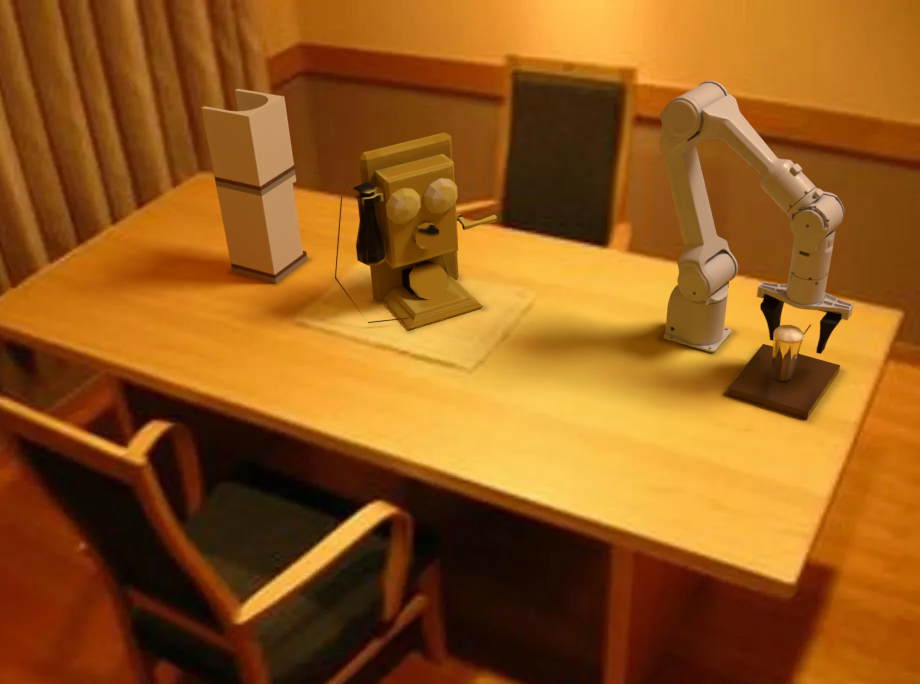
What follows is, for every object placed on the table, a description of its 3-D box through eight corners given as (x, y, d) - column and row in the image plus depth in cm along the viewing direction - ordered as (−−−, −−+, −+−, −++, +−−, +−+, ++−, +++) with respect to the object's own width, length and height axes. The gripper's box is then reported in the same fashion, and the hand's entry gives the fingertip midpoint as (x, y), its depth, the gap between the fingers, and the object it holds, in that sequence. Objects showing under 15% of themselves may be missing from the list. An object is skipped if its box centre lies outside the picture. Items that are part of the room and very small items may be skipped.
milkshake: (803, 385, 173) (812, 332, 167) (768, 383, 174) (776, 331, 168) (800, 369, 176) (809, 317, 171) (766, 367, 177) (774, 315, 172)
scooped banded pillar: (307, 260, 223) (284, 96, 203) (276, 283, 216) (248, 116, 195) (264, 249, 228) (237, 88, 208) (232, 271, 221) (201, 107, 201)
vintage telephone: (362, 345, 195) (345, 193, 177) (334, 310, 205) (316, 163, 188) (514, 299, 204) (512, 150, 187) (480, 268, 215) (475, 124, 197)
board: (727, 395, 174) (727, 387, 174) (762, 350, 184) (763, 343, 183) (807, 419, 168) (808, 412, 167) (839, 372, 177) (840, 364, 176)
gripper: (864, 270, 166) (850, 344, 174) (772, 249, 174) (763, 320, 182) (849, 291, 162) (835, 365, 170) (756, 268, 169) (746, 340, 177)
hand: (797, 344), depth 175 cm, fingers open, 7 cm apart
